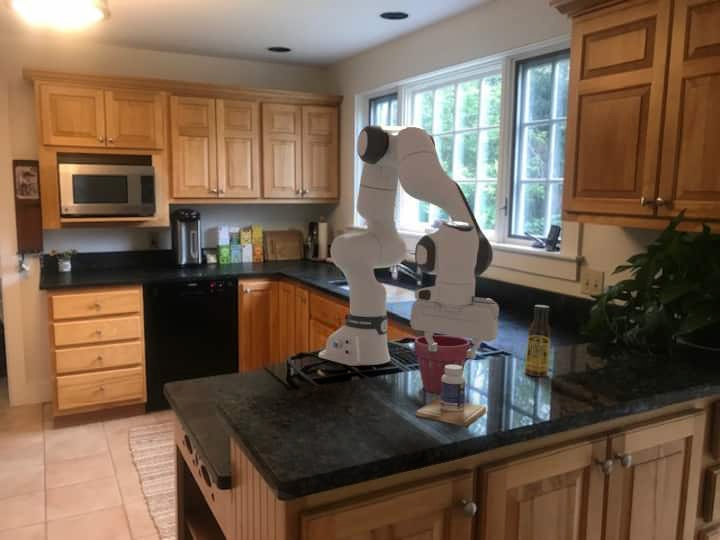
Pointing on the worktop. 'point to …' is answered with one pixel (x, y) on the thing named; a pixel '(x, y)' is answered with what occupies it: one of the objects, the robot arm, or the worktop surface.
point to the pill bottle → (452, 389)
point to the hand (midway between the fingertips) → (451, 354)
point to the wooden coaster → (451, 413)
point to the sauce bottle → (538, 343)
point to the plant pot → (439, 358)
